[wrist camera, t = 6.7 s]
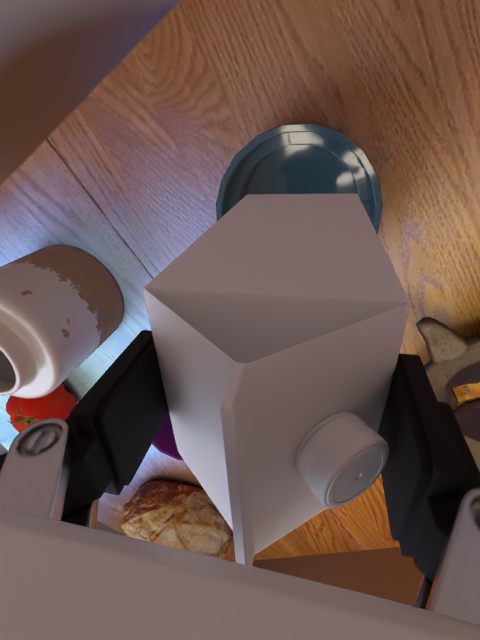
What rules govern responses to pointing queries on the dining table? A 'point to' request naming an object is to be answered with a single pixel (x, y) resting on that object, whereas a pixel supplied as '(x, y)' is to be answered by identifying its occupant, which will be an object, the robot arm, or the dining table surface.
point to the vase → (53, 317)
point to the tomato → (40, 408)
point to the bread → (177, 518)
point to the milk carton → (280, 359)
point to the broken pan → (454, 374)
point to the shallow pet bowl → (301, 168)
